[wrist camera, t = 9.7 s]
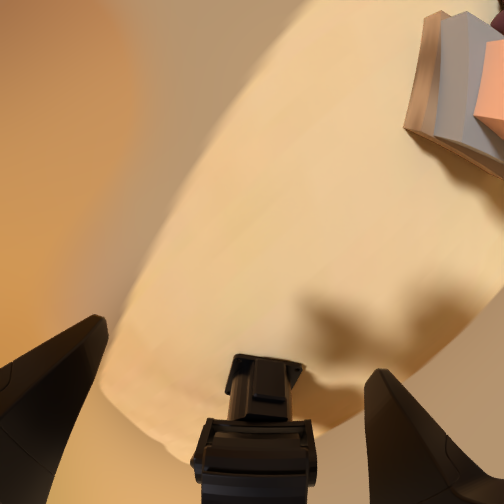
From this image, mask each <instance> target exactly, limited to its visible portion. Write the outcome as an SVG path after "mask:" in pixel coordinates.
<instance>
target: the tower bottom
mask: <svg viewBox="0 0 504 504" xmlns="http://www.w3.org/2000/svg"><path fill="white" fill-rule="evenodd" d="M449 17H451V16H450V15H448V14H447V13H445V12H443V11H442V10H441V11H439V12H436V13H434V14H432V15H430V16H428V17H426V18H424V24H423V32H422V39H421V45H420V52H419V57H418V63H417V68H416V74H415V79H414V83H413V88H412V93H411V97H410V101H409V106H408V110H407V114H406V118H405V122H404V126H403V128H405V129H407V130H409V131H412V132H414V133H416V134H418V135H420V136H422V137H424V138H426V139H428V140H431V141H433V142H435V143H436V144H438V145H440V146H442V147H444V148H446V149H448V150H450V151H452V152H454V153H455V154H457V155H459V156H461V157H463V158H464V159H466V160H468V161H469V162H471V163H473V164H474V165H476V166H478V167H479V168H481V169H483V170H484V171H486V172H487V173H489V174H491V175H494V176H496V177H498V178H500V179H502V180H504V165H503V164H501V163H499V162H497V161H495V160H493V159H491V158H488V157H486V156H484V155H482V154H480V153H477V152H475V151H473V150H470V149H468V148H466V147H463V146H461V145H458V144H456V143H453V142H451V141H448V140H445V139H443V138H440V137H437V136H434V135H433V134H434V128H435V121H436V113H437V105H438V95H439V83H440V67H441V21H442V20H444V19H447V18H449Z"/></svg>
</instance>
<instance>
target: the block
mask: <svg viewBox="0 0 504 504" xmlns="http://www.w3.org/2000/svg"><path fill="white" fill-rule="evenodd" d="M473 115H474V116H475V117H476V118H477V119H479V120H480V121H481V122H482V123H484V124H485V125H486V126H487V127H489V128H490V129H491V130H492V131H493V132H495V133H496V134H497V135H498V136H499V137H500V138H501V139H503V140H504V40H497V41H490V42H487V43H486V51H485V59H484V65H483V72H482V77H481V83H480V88H479V93H478V97H477V102H476V106H475V110H474V114H473Z"/></svg>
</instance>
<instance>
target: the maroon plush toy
mask: <svg viewBox="0 0 504 504" xmlns="http://www.w3.org/2000/svg"><path fill="white" fill-rule="evenodd" d="M502 1H503V4H504V0H502ZM491 27H492V28H494V29H495V30H497V31H498V32H499V33H501V34H502V35H504V10H502V11H501V12H500V13H499V14H497V15H496V17H495V18H494V19H493V21H492V22H491Z"/></svg>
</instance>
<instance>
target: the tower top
mask: <svg viewBox="0 0 504 504" xmlns="http://www.w3.org/2000/svg"><path fill="white" fill-rule="evenodd" d="M497 40H504V36H503V35H502V34H501V33H499V32H498V31H497V30H495V29H494V28H492V27H491V26H489V25H488V24H486V23H485V22H483V21H482V20H480V19H479V18H477V17H476V16H474V15H472V14H471V13H469V12H467V11H466V12H463V13H460V14H458V15H455V16H452V17H449V18H447V19H444V20H442V21H441V67H440V83H439V95H438V105H437V113H436V121H435V128H434V134H433V135H434V136H437V137H440V138H443V139H445V140H448V141H451V142H453V143H456V144H458V145H461V146H463V147H466V148H468V149H470V150H473V151H475V152H477V153H480V154H482V155H484V156H486V157H488V158H491V159H493V160H495V161H497V162H499V163H501V164H503V165H504V140H503V139H501V138H500V137H499V136H498V135H497V134H496V133H495V132H493V131H492V130H491V129H490V128H489V127H487V126H486V125H485V124H484V123H482V122H481V121H480V120H479V119H477V118H476V117H475V116H474V115H473V114H474V110H475V106H476V102H477V97H478V93H479V88H480V83H481V77H482V72H483V65H484V59H485V51H486V43H487V42H490V41H497Z"/></svg>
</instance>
